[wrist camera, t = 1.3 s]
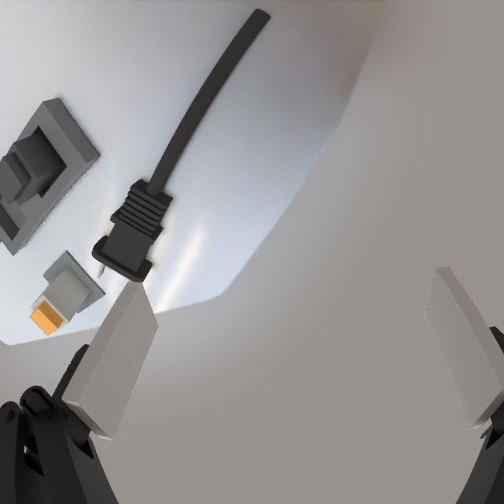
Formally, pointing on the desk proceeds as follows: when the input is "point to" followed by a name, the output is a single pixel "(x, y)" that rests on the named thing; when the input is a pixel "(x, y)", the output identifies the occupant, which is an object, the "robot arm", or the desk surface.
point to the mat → (82, 275)
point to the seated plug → (29, 168)
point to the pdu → (77, 160)
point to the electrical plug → (164, 174)
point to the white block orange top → (59, 301)
